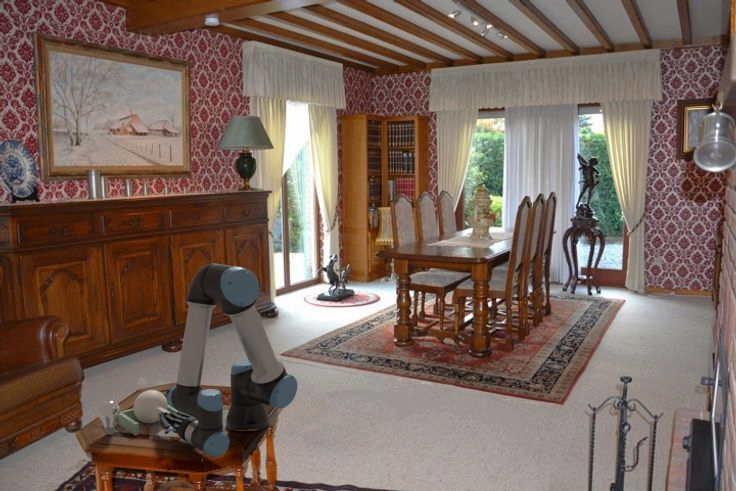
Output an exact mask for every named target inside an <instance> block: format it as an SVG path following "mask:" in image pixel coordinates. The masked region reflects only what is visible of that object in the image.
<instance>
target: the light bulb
mask: <svg viewBox="0 0 736 491" xmlns="http://www.w3.org/2000/svg"><path fill="white" fill-rule="evenodd" d="M120 412H121V407H120V405H119V403H117V401H115V400H105V401H104V402H102V403H100V404H99V407H98V410H97V415H98V418H99V419H100V420H101V422H102V424H103V428H104V429H103V430H104V433H105V435H107V436H108V435H110V436H112V435H113V434H114V433H115V431H116V430H115V429H116V428H115V427H116V426H115V425H116V424H117V418H118V416H119V414H120Z"/></svg>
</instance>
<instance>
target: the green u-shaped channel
mask: <svg viewBox="0 0 736 491" xmlns="http://www.w3.org/2000/svg"><path fill="white" fill-rule="evenodd" d="M167 411H170V412H175V413H177V412H178V411H177V410H176V409H174V408H172V407H171V406H170V405H169V404H168V407H167ZM180 416H181V415H180ZM136 420H138V419H137V417H136V416H135V414H134V410H133V408H130V409H126V410H123V411H121V410H120V414H119V416H118V418H117V419H116V424H117V423H118V424H117V425H119V426H120V427H122V428H123V429H124V430H126V431H127V432H129V433H130V434H133V435H134V436H138V435H140V423H139V422H138V421H136Z"/></svg>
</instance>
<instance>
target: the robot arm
mask: <svg viewBox="0 0 736 491" xmlns="http://www.w3.org/2000/svg"><path fill="white" fill-rule="evenodd" d="M259 290H260V283H259V280H258V278H257V276H256V275H255V273H254V272H252V271H251V270H250V269H247V268H244V267H242V266H239V265H238V266H236V265H234V266H233V265H227V264H221V263H215V262H214V263H213V262H212V263H209V264H206V265H204V266H202V267H200V269H199V270H197V272H196V273H195V275H194V276H193V278H192V280H191V282H190V284H189V286H188V291H187V296H186V301H185V302H186V304H187V305H188V310H187V315H186V322H185V328H184V332H183V333H184V335H183V338H182V339H183V340H182V345H181V346H182V347H181V350H180V351H181V352H180V357H179V364H178V365H179V366H178V371H177V376H176V377H177V378H176V382H175V383H176V384H175V386H173V387H172V388H170V389H171V390H170V392H169V393H168V396H167V401H168V405H170V406H171V407H172V408H174V409H176V410H177V411H178V412H177V413H175V412H170V411H167V410H165V409H163V408H162V407H160V408H157V416H159V418H160V420H159V425H160V426H161V428H162V429H163V430H164V434H165V435H168V434H169V433H170V432H173V433H174V434H177V435H178V436H179V437H180V439H182V440H183V441H185V442H186V443H188V444H190V445H191V446H193V447H195V448H197V449H198V450H199V451H201V452H203V454H205V455H208V456H210V457H213V458H219V457H221V456H223V455H225V453H226V452H227V451H228V449H229V446H230V439H229V437H228V435H227V434H226V433H225V432H224V423H223V421H224V420H223V417H224V416H223V415H224V414H223V413H224V411H223V410H224V402H223V399H224V398H223V393H222V391H220V390H219V389H213V388H209V389H208V388H207V389H203V390H200V388H201V382H202V377H203V370H204V363H205V359H206V358H205V357H206V353H207V352H206V351H207V346H208V339H209V334H210V328H211V327H210V326H211V321H212V314H213V310H214V308H216V307H217V305H219V307H220V310H221V311H222V312H221V313H223V314H224V315H225V316H229V318H230V320H231V323H232V326H234V330H235V332H236V335H237V337H238V339H239V341H240V343H241V346H242V348H243V350H244V353H245V355H246V358H247V359H244V360H239V361H236V362H234V363H233V364H231V368H230V406H229V409H228V413H227V415H226V418H225V426H226V428H227V429H229V430H230V431H232V430H248V429H260V430H259V431H261V430H263V429H265V428H267V427H268V426H269V424H270V416H269V414H268V411H267V407H266V406H270V407H271V408H277V409H284V408H286V407H288V406H289V405H290V404H291V403H293V400H294V399H295V397H296V395H297V392H298V384H299V383H298V381H297V378H296V377H295V376H294V375H292V374H290V373H289V374H288V372H287V370H286V368H285V365H284V364H283V362H282V361H280V360H278V359H277V357H276V355H275V352H274V350H273V347H272V344H271V341H270V340H269V337H268V335H267V332H266V329H265V327H264V325H263V322H262V320H261V317H260V315H259V312H258V310H257V308H256V304H257V303H258V295H259ZM217 303H218V304H217ZM199 390H200V391H199ZM180 415H181V416H180Z"/></svg>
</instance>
